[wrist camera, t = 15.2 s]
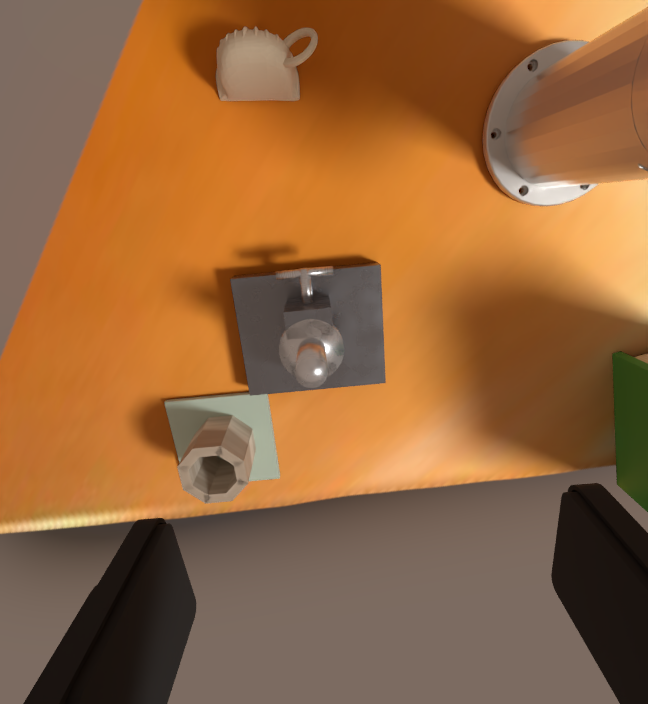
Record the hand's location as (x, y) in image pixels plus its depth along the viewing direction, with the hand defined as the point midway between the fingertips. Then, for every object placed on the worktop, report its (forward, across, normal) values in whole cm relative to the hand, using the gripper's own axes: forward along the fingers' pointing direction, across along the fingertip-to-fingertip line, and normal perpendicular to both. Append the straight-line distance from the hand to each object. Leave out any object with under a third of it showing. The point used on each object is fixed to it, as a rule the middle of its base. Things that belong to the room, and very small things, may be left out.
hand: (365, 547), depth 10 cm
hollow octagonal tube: (+30, +14, +16) cm, 37 cm away
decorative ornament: (+32, +4, -18) cm, 37 cm away
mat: (+31, +14, +16) cm, 38 cm away
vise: (+32, +3, +4) cm, 32 cm away
